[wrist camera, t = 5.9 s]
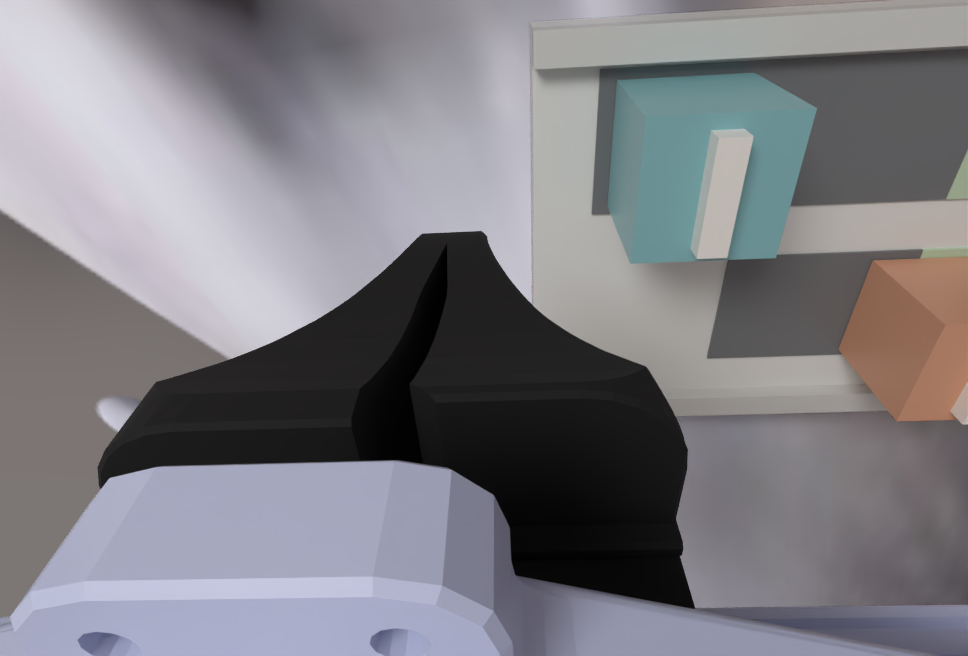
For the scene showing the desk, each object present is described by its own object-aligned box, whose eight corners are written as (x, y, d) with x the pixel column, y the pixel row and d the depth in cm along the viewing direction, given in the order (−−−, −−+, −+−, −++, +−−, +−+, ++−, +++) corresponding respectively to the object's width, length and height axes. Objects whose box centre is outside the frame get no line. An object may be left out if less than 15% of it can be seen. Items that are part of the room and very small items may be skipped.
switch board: (1081, -11, 16) (1139, -5, 15) (894, 381, 25) (918, 409, 24) (530, 21, 17) (533, 30, 16) (532, 392, 26) (534, 420, 24)
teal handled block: (753, 72, 17) (829, 115, 13) (727, 200, 19) (784, 268, 15) (616, 79, 17) (651, 123, 13) (607, 206, 19) (634, 274, 15)
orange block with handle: (989, 256, 20) (1103, 332, 16) (942, 346, 22) (1032, 431, 19) (872, 260, 20) (959, 336, 16) (838, 349, 22) (907, 434, 19)
